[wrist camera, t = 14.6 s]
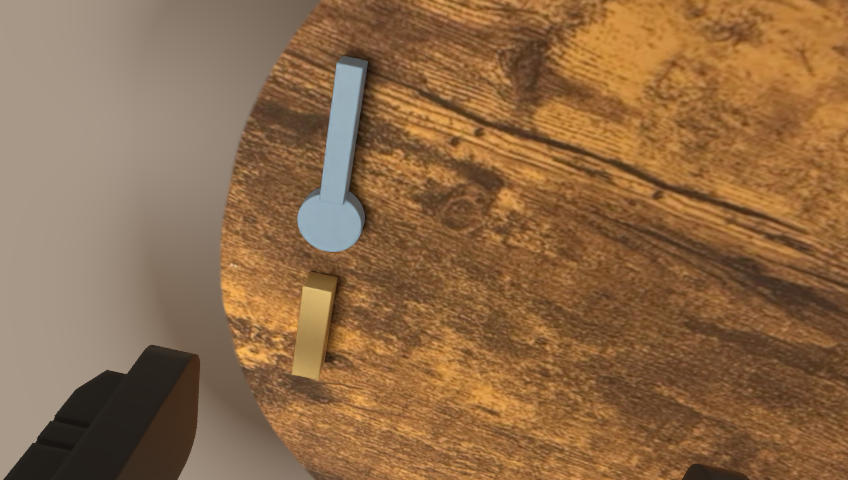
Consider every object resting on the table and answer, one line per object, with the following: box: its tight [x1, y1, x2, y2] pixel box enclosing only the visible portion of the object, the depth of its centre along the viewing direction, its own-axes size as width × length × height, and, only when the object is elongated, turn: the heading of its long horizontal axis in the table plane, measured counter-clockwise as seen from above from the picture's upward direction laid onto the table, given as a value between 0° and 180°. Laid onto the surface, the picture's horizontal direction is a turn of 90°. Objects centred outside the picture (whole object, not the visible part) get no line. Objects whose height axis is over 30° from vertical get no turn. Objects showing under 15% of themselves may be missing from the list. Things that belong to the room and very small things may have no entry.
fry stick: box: [292, 272, 338, 380], centre depth 44 cm, size 7×2×2 cm, turn 169°
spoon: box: [297, 56, 368, 252], centre depth 39 cm, size 11×4×2 cm, turn 169°
